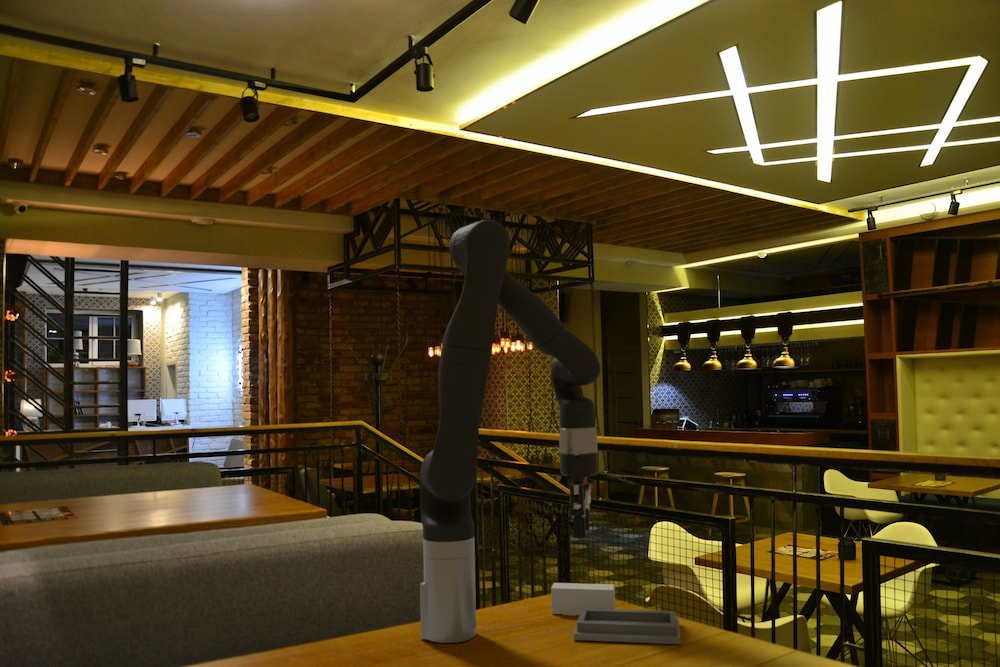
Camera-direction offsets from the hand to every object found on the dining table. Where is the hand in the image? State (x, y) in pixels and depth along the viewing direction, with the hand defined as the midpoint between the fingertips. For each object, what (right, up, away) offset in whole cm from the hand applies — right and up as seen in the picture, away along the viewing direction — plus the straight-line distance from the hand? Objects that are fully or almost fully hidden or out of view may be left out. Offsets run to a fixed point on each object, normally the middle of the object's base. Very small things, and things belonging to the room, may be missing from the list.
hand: (581, 533), depth 152 cm
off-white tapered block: (0, -15, -1) cm, 15 cm away
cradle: (+7, -14, -15) cm, 21 cm away
